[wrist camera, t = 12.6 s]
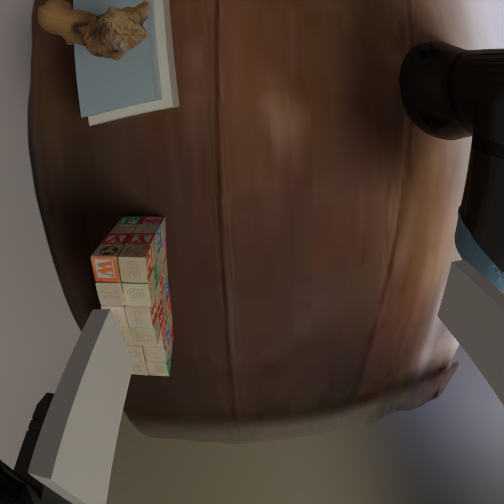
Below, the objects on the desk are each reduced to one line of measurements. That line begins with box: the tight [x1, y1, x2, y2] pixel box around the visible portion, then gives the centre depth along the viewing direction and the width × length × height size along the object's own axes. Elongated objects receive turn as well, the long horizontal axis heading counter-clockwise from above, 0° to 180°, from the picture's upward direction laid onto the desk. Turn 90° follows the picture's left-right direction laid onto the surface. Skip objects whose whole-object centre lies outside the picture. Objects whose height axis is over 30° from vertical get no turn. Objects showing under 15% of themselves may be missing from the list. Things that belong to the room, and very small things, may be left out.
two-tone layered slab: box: [73, 0, 179, 126], centre depth 26 cm, size 10×18×9 cm, turn 5°
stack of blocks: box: [91, 216, 174, 376], centre depth 39 cm, size 21×6×12 cm, turn 176°
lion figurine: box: [37, 0, 151, 61], centre depth 17 cm, size 15×5×9 cm, turn 66°
